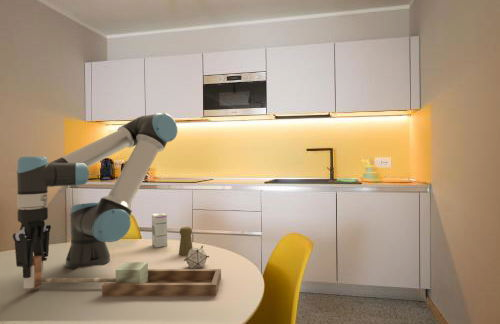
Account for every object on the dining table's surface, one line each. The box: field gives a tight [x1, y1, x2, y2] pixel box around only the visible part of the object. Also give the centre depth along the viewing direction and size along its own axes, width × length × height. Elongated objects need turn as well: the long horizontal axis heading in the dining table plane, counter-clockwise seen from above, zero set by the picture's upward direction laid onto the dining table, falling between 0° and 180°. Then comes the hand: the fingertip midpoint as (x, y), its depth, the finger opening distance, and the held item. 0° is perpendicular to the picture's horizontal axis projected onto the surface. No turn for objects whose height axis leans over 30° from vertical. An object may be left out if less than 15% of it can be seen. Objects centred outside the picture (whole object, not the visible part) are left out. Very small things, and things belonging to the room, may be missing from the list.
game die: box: [183, 245, 210, 269], centre depth 113 cm, size 9×8×10 cm
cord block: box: [24, 255, 149, 290], centre depth 95 cm, size 35×7×9 cm, turn 89°
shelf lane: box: [101, 268, 222, 297], centre depth 95 cm, size 32×13×4 cm, turn 89°
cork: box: [178, 226, 194, 257], centre depth 133 cm, size 6×6×11 cm
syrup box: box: [151, 212, 168, 248], centre depth 146 cm, size 6×6×14 cm
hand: (33, 285), depth 95 cm, fingers closed on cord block, 3 cm apart
